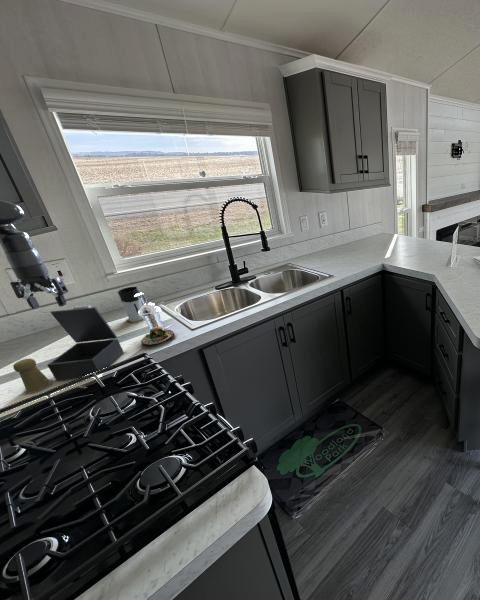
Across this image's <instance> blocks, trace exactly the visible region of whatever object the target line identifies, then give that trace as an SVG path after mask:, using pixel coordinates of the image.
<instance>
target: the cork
mask: <svg viewBox="0 0 480 600" xmlns="http://www.w3.org/2000/svg"><path fill="white" fill-rule="evenodd" d="M13 370H14V371H15V372H16V373H19V376H20V378H21V380H22V383H23V385H24V388H25V391H26V392H27V393H34V392H35V393H36V392H39V391H40V390H44V389H45V388H47V387H49V385H51V381H50V380H49V379H48V378H47V376H46V375H44V373H43V372H42V371H41V370H40V369H39V368H38V366H37V362H36V360H35V359H34V358H24V359H20V360H18V361H16V362H15V363H13Z"/></svg>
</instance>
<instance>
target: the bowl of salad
mask: <svg viewBox="0 0 480 600" xmlns="http://www.w3.org/2000/svg"><path fill="white" fill-rule="evenodd" d="M170 338H172V339H173V340H174V339H175V338H176V336H175V332H174V331H173V330H171V329H164V330H163V329H162V327H160V326H156V325H155V327H153V328H152V329H151V330H150V329H149V334H147V333H146V335H144V337H143V338H142V339H141V341H140V344H141V346H143V345H148V346H149V345H156V344H160V343H163V342H165V341H167V340H169V339H170Z"/></svg>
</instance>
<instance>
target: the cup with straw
mask: <svg viewBox="0 0 480 600" xmlns="http://www.w3.org/2000/svg"><path fill="white" fill-rule="evenodd" d="M139 295H140V296H141V297H142V299H143V302H144V304H143V305H142V306H141V307H140V311H139V312H138V315H139V316H142V318H143V320H144V322H145V323H146V325H147V327H148V328H149V331H150V330H151V329H152V328H153V327H155V325H156V326H160V327H162V329H163V330H165V329H164V323H163V320H162V316H161V315H162V314H161V311H162V308H161V306H159V305H157V304H156V303H153V302H148V301H146V300H147V298H146V296H145V294H144V292H139V294H137V295H134V296H133V297H136V296H139Z"/></svg>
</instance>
